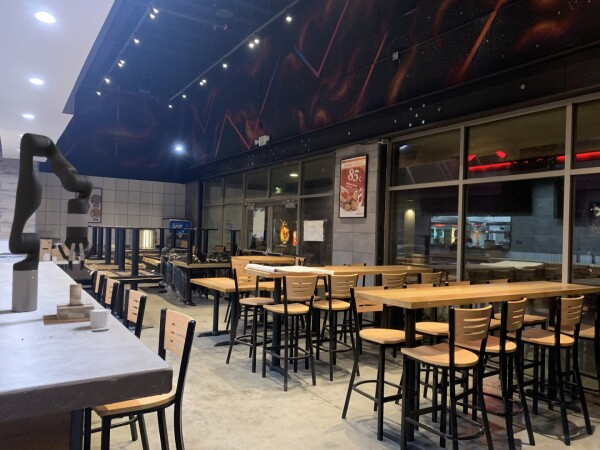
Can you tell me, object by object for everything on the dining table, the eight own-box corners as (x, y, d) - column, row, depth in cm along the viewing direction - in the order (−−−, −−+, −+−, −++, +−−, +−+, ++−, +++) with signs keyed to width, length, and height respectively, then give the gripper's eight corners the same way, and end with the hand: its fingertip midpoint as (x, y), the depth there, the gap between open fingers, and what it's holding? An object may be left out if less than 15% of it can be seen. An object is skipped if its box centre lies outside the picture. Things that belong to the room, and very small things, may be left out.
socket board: (43, 319, 165) (43, 305, 165) (91, 315, 174) (92, 301, 174) (44, 329, 148) (44, 313, 148) (97, 324, 157) (98, 309, 157)
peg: (68, 315, 166) (69, 284, 167) (80, 314, 169) (81, 283, 169) (69, 317, 163) (69, 285, 163) (81, 316, 165) (82, 284, 165)
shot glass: (114, 328, 152) (115, 308, 152) (103, 333, 145) (104, 312, 145) (96, 327, 152) (96, 308, 152) (84, 332, 146) (85, 311, 146)
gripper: (95, 226, 173) (94, 269, 173) (56, 225, 166) (55, 270, 166) (98, 226, 167) (97, 270, 167) (56, 225, 160) (55, 271, 159)
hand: (76, 270), depth 166 cm, fingers open, 3 cm apart
